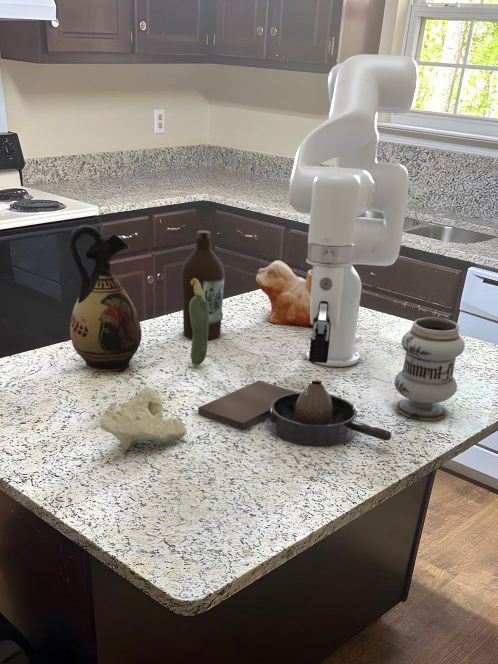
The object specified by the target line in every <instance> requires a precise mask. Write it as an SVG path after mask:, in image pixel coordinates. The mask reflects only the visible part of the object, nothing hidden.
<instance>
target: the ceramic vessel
mask: <svg viewBox="0 0 498 664" xmlns="http://www.w3.org/2000/svg"><path fill="white" fill-rule="evenodd" d="M312 271H313V268H311V269H309V270H308V271H307V274H306V279H305V278H303V277H300V276H297V274H295V273H294V271H293V270H292V268H291V267H289V265H288V264H287V263H285V262H284V261H282V260H278V259H277V260H274V261H273V262H271V263H270V264H269V265H268V266H266V267H263V268H262V267H261V268H259V269H258V271H257V274H256V277H255V282H256V283H257V286H258V287H259V288H260V290H261V291H262V292H263V293H264V294H265V295H266V296H267V299H268V300H269V302H270V307H271V311H270V315H269V318H268V322H269V323H270V324H274V325H285V326H286V325H287V326H296V327H303V328H304V327H305V328H312V329H313V325H312V324H311V323H310V297H311V283H312Z"/></svg>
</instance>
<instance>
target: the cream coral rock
mask: <svg viewBox="0 0 498 664" xmlns="http://www.w3.org/2000/svg"><path fill="white" fill-rule="evenodd" d="M116 401H117V398H115V399H114V401H113V402H111V403H109V406H107V408H106V409H105V410H104V412H103V414H102V417H101V418H100V420H99V423H100V425H99V427H100V428H101V429H102V430H103V431H105V432H106V433H110V434H112V435H113V436H114V437H115V438H116V439H117V440H118V441H119V443H120V446H121V447H122V448H123V450H124V451H127V450H128V449H129V448H130V446H131V445H133V444H134V443H137V444H138V443H139V442H142V441H149V442H153V443H155V444H160V445H163V444H166V443H169V442H174V441H180V440H181V439H183V438H184V437H185V435H186V432H187V428H186V427H185V425H184V423H182V422H181V421H179V419H177V417H172V416H170V417H167V418H164V414H163V413H164V403H163V400H162V399H161V397H159V395H158V394H157V392H156V391H155V390H154V389H153V388H150V387H147V386H145V387H142V389H140V390H139V391H138V393H137V394H136V395H135V396H134V397H132V398H130V400H129V402H127V403H124V404H123V405H121V406H119V404H117V402H116Z"/></svg>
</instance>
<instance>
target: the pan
mask: <svg viewBox="0 0 498 664" xmlns="http://www.w3.org/2000/svg"><path fill="white" fill-rule="evenodd" d="M296 392H297V391H296ZM301 393H302V391H298V392H297V393H290V394H286V395H282V396H280V397H278V398H276V399H275V400H274V401H273V402H272V403H271V406H270V417H269V422H268V425H269V430H270V432H271V433H272V434H273V435H274V436H276V437H278V438H279V439H281V440H283V441H285V442H288V443H292V444H295V445H301V446H307V447H330V446H331V447H332V446H336V445H339V444H343V443H346V442H347V441H350V440H351V439H352V438H353V437H354V435H355V432H356V431H354V430H351V429H350V428H349V423H350V422H351V421H352V420H355V421H358V420H357V419H358V409H357V408H356V406H355V405H354V404H353V403H351V402H350V401H349V400H347V399H345V398H342V397H340V396H337V395H333V394H329V396H330V398H331V401H332V414H331V418H330V420H329V422H328V423H327V424H326V425H310V424H303V423H298V421H297V419H296V414H295V406H296V402H297V399H298V397H299V395H300V394H301Z"/></svg>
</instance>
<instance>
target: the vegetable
mask: <svg viewBox="0 0 498 664" xmlns="http://www.w3.org/2000/svg"><path fill="white" fill-rule="evenodd" d="M193 282H194V293H195V296H194V297H193V298H192V299H191V300H190V304H189V313H190V320H191V326H192V330H193V338H192V339H191V349H190V361H191V365H193V367H194V368H198V367H199V366H200V365H202V363H204V361H205V360H206V356H207V351H208V347H209V346H208V344H209V340H208V331H209V306H208V302H207V300H206V299H205V297H203V290H202V287H201V284H200V283H199V280H197V279H196V278H193V279H192V280H191V285H193Z"/></svg>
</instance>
